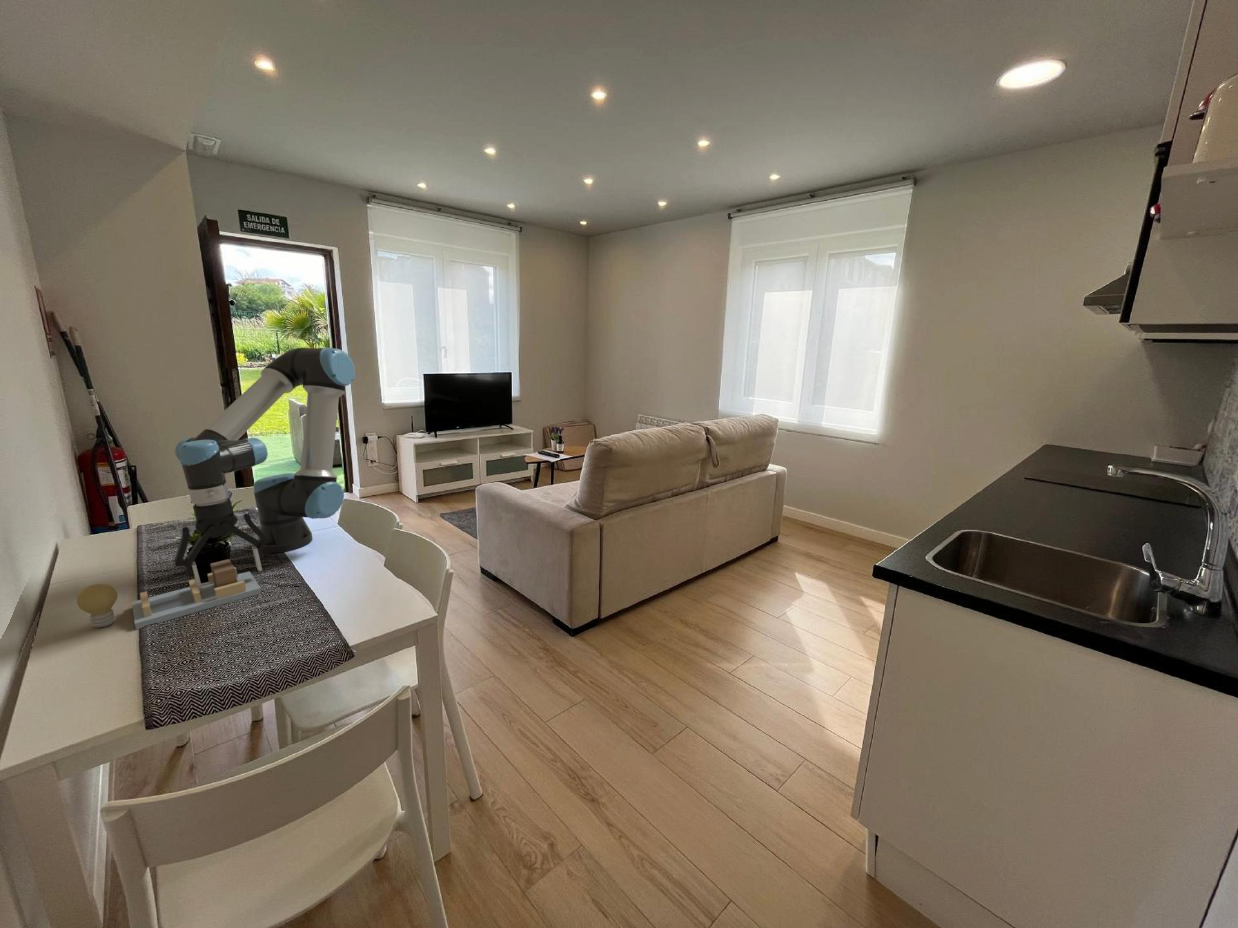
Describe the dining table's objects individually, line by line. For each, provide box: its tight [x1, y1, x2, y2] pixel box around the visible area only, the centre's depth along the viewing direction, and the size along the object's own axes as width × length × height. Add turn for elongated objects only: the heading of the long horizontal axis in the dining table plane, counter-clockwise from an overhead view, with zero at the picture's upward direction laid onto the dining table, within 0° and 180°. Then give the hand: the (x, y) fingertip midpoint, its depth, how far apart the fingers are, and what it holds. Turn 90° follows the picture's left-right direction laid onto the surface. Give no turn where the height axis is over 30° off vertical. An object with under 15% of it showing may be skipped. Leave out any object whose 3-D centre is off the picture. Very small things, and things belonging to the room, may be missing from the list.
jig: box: [131, 566, 262, 630], centre depth 126 cm, size 14×24×4 cm, turn 136°
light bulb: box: [76, 583, 118, 629], centre depth 114 cm, size 6×6×10 cm
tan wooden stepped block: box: [210, 558, 237, 588], centre depth 129 cm, size 8×4×6 cm, turn 46°
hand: (230, 577), depth 130 cm, fingers open, 12 cm apart
